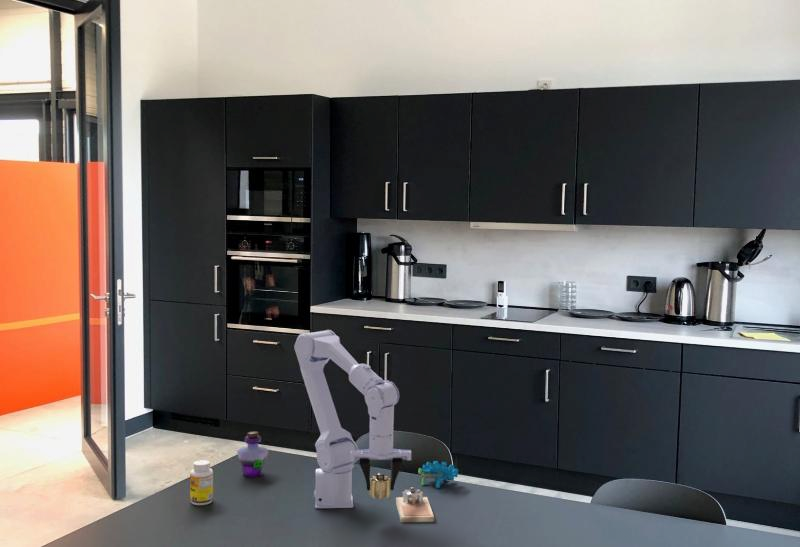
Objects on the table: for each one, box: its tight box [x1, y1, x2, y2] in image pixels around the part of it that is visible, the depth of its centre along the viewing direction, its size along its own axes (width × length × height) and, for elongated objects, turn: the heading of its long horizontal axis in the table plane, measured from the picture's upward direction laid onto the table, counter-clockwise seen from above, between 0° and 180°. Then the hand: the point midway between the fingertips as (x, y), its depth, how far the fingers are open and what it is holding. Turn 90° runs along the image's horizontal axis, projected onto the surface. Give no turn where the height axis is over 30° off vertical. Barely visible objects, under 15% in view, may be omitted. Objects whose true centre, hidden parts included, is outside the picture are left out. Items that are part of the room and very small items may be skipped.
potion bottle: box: [236, 431, 269, 479], centre depth 219 cm, size 9×9×12 cm
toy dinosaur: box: [417, 460, 459, 489], centre depth 214 cm, size 11×6×10 cm
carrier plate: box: [395, 496, 435, 523], centre depth 195 cm, size 8×13×1 cm, turn 6°
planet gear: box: [369, 472, 391, 500], centre depth 189 cm, size 5×5×5 cm
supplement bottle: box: [189, 459, 214, 506], centre depth 198 cm, size 6×6×10 cm
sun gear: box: [402, 486, 424, 505], centre depth 199 cm, size 5×5×3 cm
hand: (380, 488), depth 189 cm, fingers closed on planet gear, 5 cm apart
